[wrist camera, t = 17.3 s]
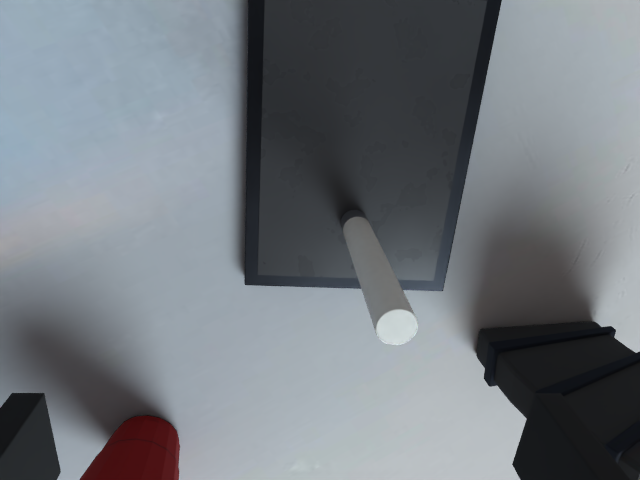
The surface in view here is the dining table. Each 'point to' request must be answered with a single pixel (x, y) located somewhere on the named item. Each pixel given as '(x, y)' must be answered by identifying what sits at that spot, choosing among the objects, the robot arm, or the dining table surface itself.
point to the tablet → (360, 133)
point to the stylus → (378, 282)
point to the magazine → (572, 378)
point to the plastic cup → (138, 452)
